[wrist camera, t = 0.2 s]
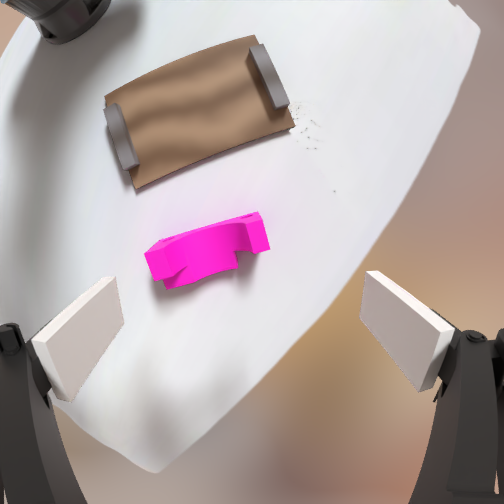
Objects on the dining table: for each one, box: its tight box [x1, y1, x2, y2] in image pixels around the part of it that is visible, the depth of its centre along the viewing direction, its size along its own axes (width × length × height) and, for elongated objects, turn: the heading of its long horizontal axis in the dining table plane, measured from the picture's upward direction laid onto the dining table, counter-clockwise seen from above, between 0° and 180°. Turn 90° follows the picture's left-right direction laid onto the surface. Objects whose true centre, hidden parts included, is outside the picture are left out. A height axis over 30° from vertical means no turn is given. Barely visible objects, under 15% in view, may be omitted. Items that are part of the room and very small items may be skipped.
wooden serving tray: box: [103, 35, 295, 189], centre depth 33 cm, size 16×24×3 cm, turn 111°
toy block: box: [144, 212, 270, 289], centre depth 37 cm, size 15×6×8 cm, turn 105°
